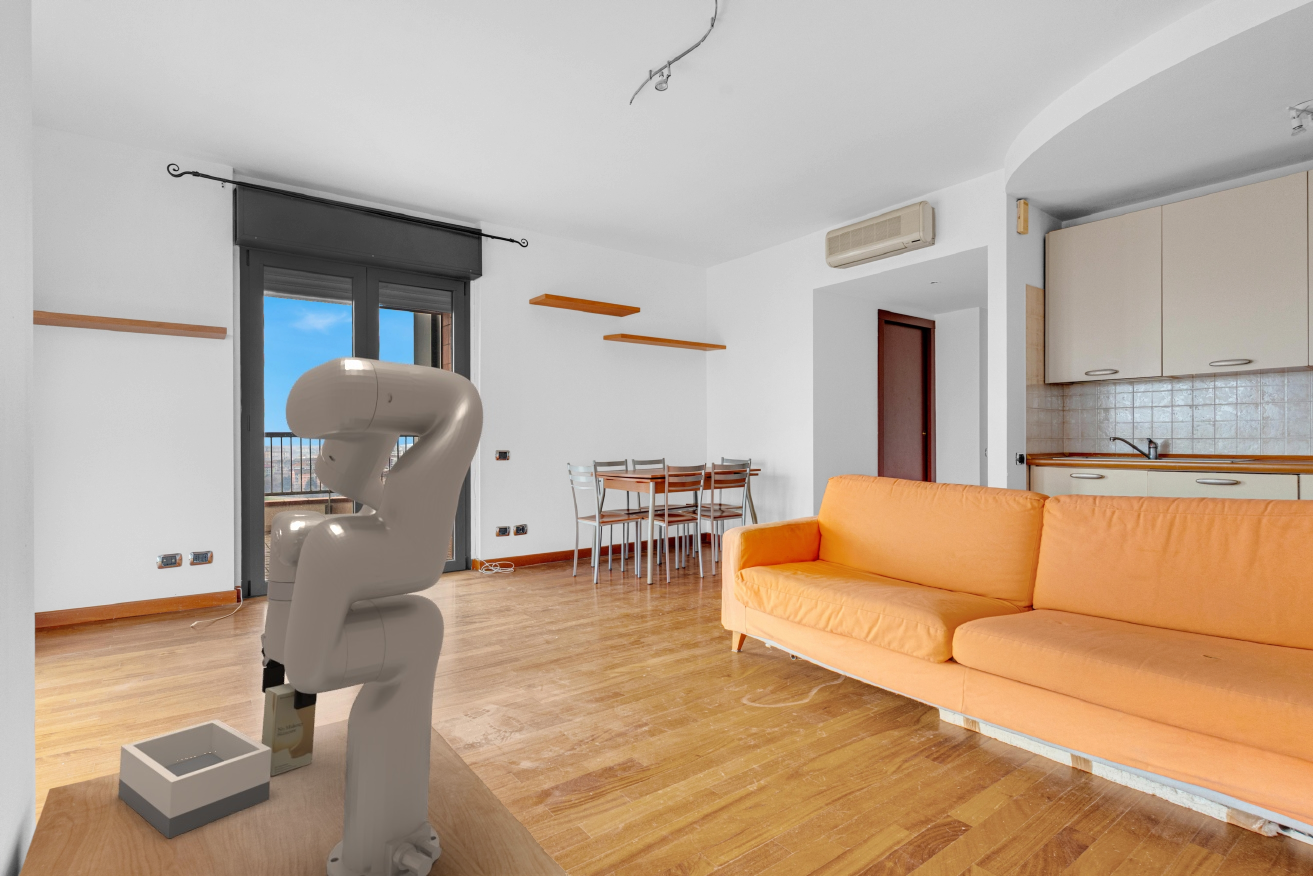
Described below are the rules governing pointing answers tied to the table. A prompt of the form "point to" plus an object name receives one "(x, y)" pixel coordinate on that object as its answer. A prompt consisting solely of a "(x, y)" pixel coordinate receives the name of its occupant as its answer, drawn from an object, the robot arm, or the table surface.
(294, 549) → the robot arm
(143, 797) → the box
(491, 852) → the table surface
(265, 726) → the skincare box
